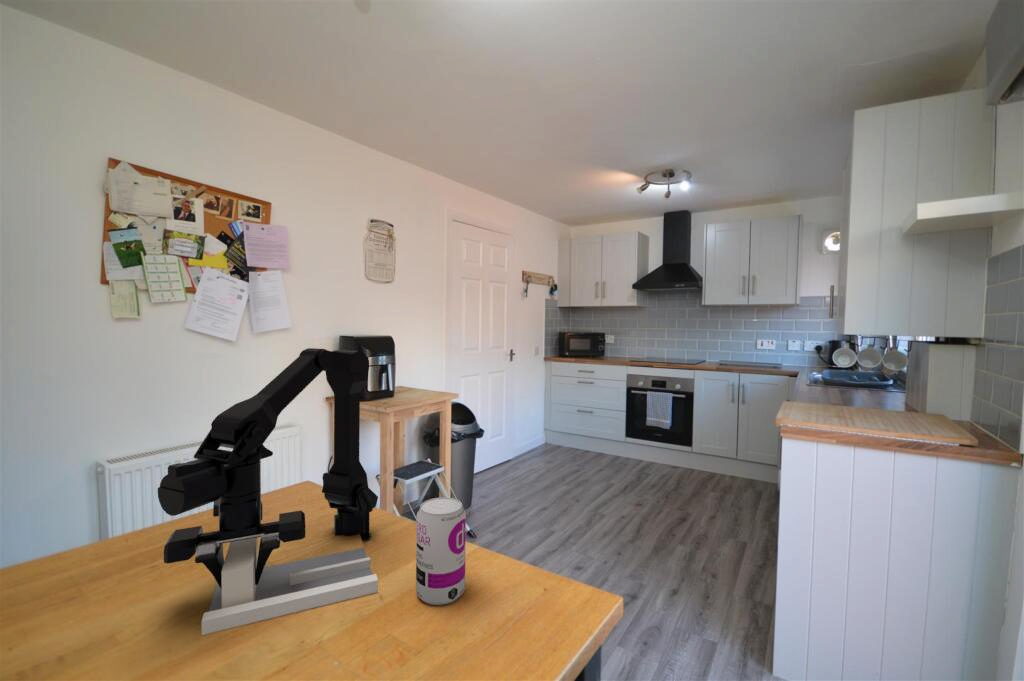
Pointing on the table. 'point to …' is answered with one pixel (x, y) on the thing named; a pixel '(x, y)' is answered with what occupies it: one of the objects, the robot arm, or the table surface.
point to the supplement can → (440, 550)
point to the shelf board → (297, 589)
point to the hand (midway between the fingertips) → (240, 586)
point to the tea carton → (239, 573)
